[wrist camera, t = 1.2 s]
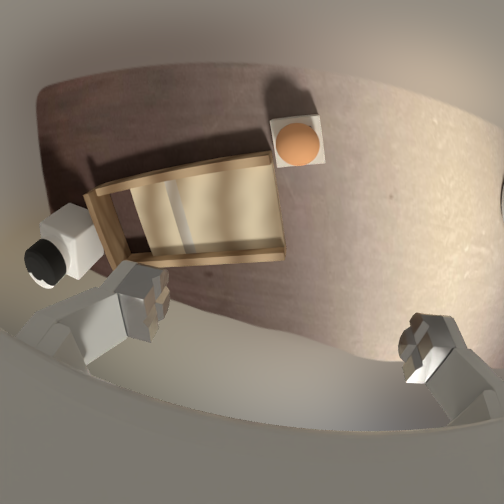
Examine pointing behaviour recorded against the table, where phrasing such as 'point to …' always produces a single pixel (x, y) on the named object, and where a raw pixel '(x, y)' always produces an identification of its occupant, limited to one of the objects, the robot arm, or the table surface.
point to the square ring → (304, 119)
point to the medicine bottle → (64, 246)
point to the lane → (197, 213)
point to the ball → (297, 144)
